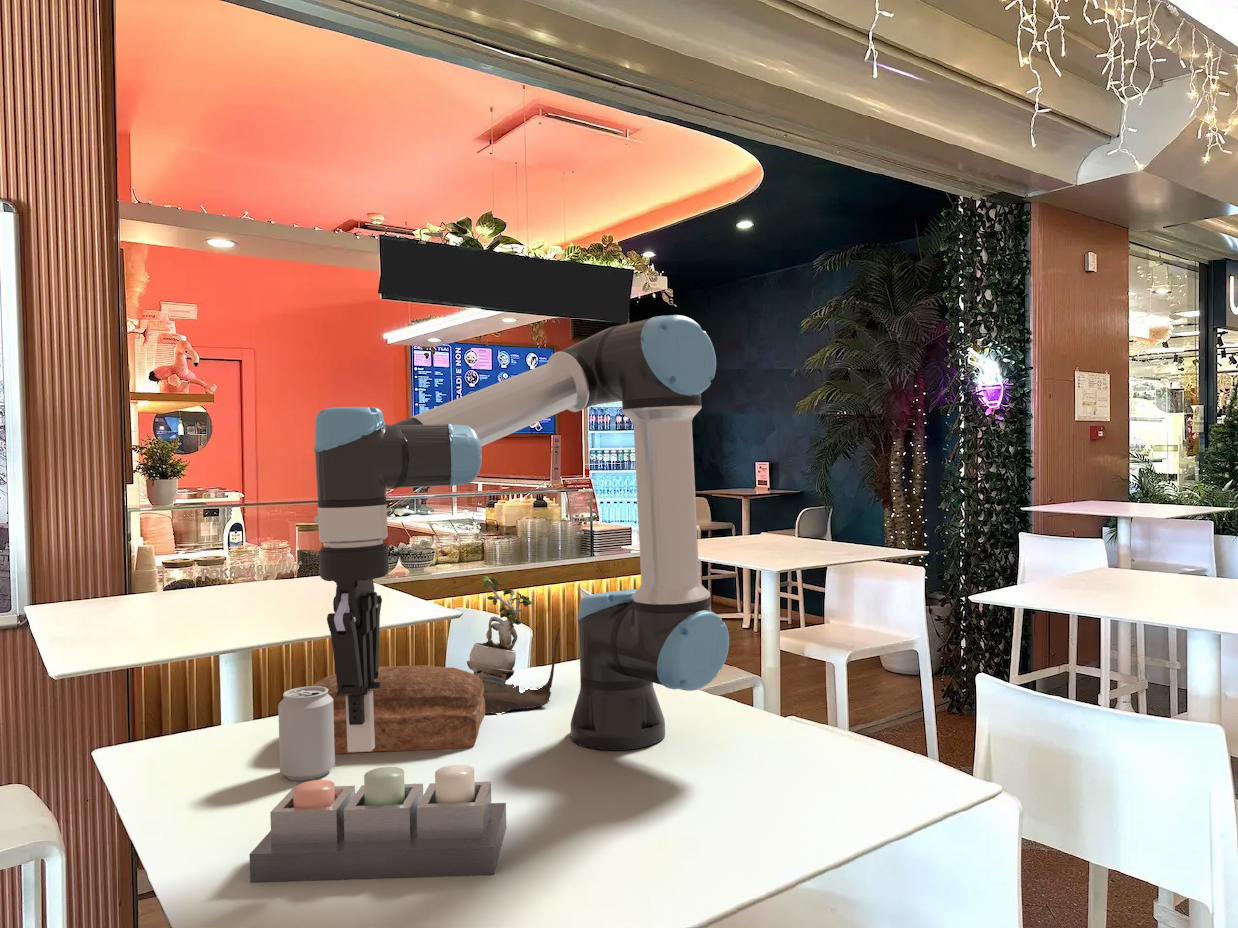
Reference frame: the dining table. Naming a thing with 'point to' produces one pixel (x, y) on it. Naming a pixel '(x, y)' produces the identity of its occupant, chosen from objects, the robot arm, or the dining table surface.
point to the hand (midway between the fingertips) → (361, 749)
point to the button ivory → (455, 784)
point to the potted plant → (504, 659)
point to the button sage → (384, 786)
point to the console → (381, 838)
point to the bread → (417, 708)
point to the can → (306, 733)
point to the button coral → (314, 794)
